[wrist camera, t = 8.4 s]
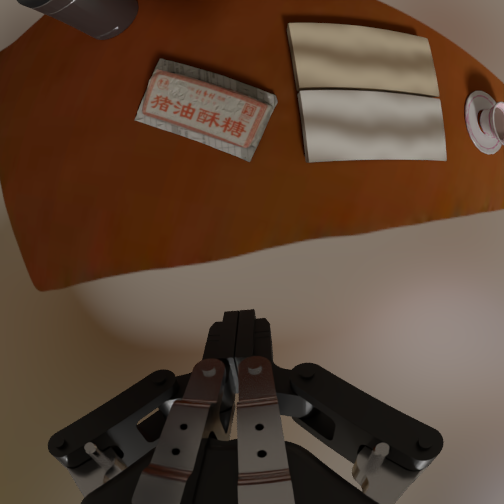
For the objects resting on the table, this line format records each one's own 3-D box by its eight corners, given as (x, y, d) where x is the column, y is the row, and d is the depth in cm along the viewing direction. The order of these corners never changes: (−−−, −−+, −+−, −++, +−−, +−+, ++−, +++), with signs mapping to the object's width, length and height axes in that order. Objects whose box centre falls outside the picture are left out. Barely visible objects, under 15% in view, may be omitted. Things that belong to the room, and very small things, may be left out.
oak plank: (286, 30, 29) (288, 22, 27) (419, 42, 28) (427, 38, 25) (296, 91, 33) (299, 87, 30) (430, 97, 31) (439, 96, 29)
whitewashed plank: (297, 94, 33) (299, 90, 31) (431, 101, 32) (439, 99, 29) (306, 162, 36) (309, 162, 34) (438, 160, 35) (446, 160, 32)
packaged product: (282, 91, 29) (249, 163, 33) (279, 98, 34) (250, 161, 37) (151, 51, 27) (122, 118, 30) (163, 60, 32) (136, 120, 35)
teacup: (466, 151, 34) (489, 155, 28) (459, 85, 30) (481, 81, 24) (503, 156, 34) (524, 161, 28) (498, 97, 29) (519, 96, 23)
